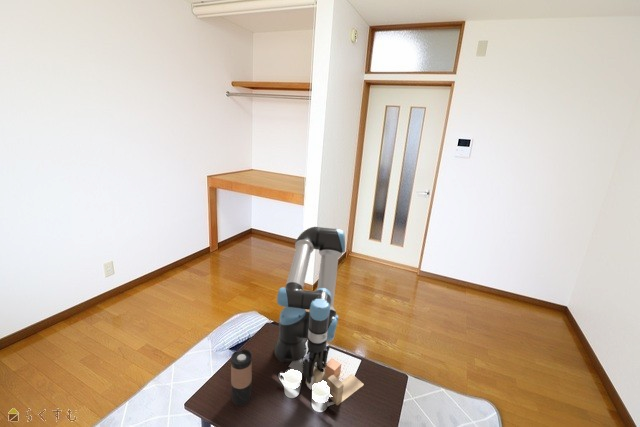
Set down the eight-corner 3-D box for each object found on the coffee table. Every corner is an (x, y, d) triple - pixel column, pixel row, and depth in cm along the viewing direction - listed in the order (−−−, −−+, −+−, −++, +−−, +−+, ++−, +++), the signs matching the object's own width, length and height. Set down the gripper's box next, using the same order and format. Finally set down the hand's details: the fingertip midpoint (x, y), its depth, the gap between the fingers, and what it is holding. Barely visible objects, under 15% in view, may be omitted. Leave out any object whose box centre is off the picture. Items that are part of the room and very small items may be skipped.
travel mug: (244, 409, 114) (244, 367, 108) (227, 402, 116) (226, 360, 110) (255, 393, 121) (255, 352, 115) (239, 387, 123) (238, 346, 117)
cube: (324, 373, 131) (325, 364, 130) (331, 366, 135) (332, 357, 133) (333, 379, 128) (334, 370, 127) (340, 373, 132) (341, 363, 130)
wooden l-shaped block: (324, 395, 122) (326, 377, 119) (351, 376, 132) (353, 359, 130) (337, 407, 117) (339, 389, 114) (363, 386, 127) (366, 369, 125)
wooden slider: (304, 384, 126) (306, 366, 124) (332, 366, 137) (334, 350, 134) (315, 396, 121) (317, 378, 119) (343, 376, 132) (345, 359, 129)
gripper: (307, 352, 109) (303, 402, 116) (338, 334, 120) (333, 381, 127) (295, 340, 115) (292, 389, 121) (325, 324, 125) (321, 370, 132)
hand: (313, 385), depth 124 cm, fingers closed on wooden slider, 3 cm apart
